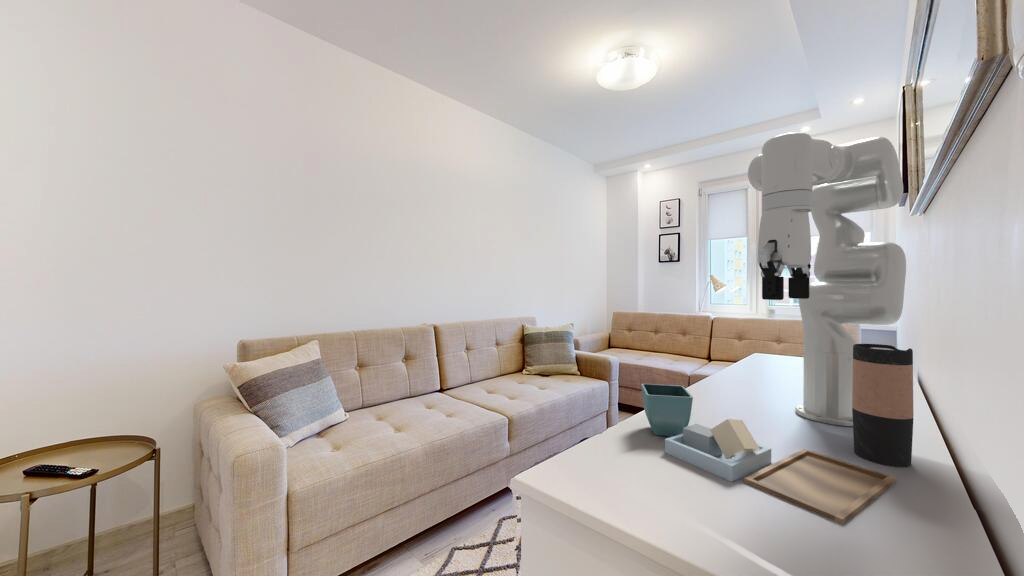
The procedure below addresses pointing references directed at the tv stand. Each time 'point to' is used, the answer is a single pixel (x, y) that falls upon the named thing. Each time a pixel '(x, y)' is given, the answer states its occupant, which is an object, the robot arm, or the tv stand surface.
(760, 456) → the light blue tray
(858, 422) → the travel mug
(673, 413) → the flower pot
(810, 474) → the walnut tray
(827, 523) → the tv stand surface
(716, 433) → the cream rectangular block
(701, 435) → the gray block
